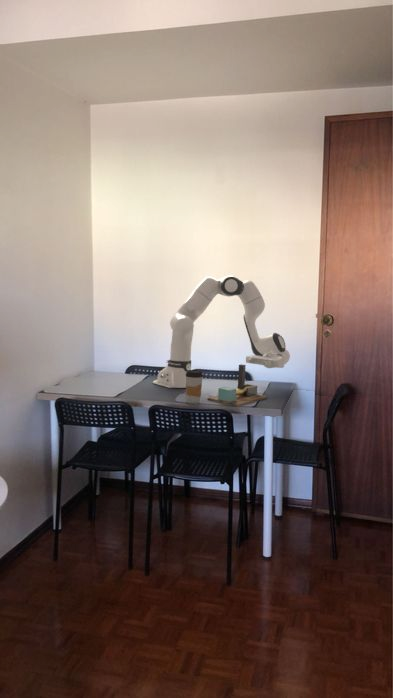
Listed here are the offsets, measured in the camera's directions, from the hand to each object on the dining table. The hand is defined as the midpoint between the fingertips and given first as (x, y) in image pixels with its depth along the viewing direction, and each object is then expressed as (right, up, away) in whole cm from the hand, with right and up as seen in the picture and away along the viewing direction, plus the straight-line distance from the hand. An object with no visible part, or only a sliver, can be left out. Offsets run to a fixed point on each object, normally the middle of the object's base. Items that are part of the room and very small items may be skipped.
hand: (256, 362), depth 302 cm
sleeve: (-5, -16, -3) cm, 17 cm away
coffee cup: (-33, -19, -20) cm, 43 cm away
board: (-10, -18, -10) cm, 23 cm away
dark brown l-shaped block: (-8, -16, -7) cm, 19 cm away
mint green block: (-16, -19, -17) cm, 30 cm away
